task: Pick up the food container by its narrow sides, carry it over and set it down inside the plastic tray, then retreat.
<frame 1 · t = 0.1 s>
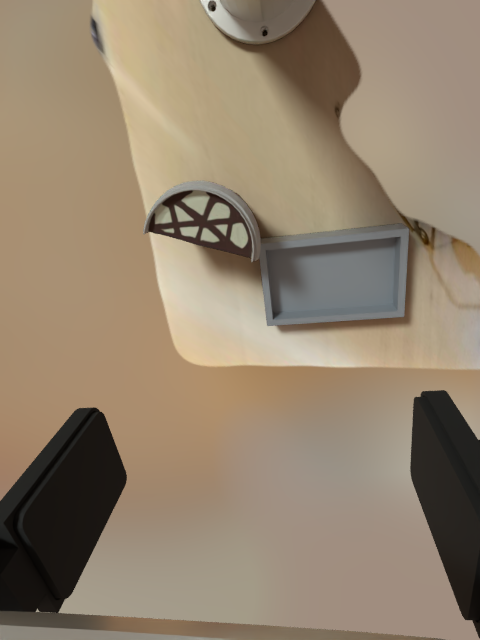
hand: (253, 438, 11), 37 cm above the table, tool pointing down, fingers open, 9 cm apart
tray: (329, 273, 46), on the table
food container: (221, 203, 44), on the table
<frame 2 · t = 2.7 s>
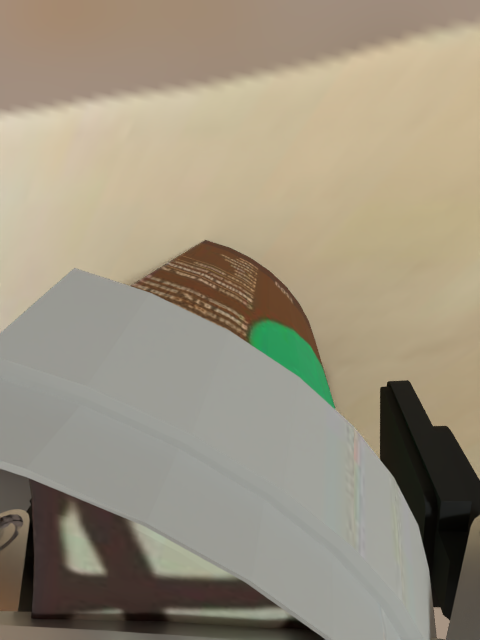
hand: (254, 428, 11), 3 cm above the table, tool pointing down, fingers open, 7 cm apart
tray: (115, 574, 21), on the table
food container: (263, 375, 14), on the table, touching gripper
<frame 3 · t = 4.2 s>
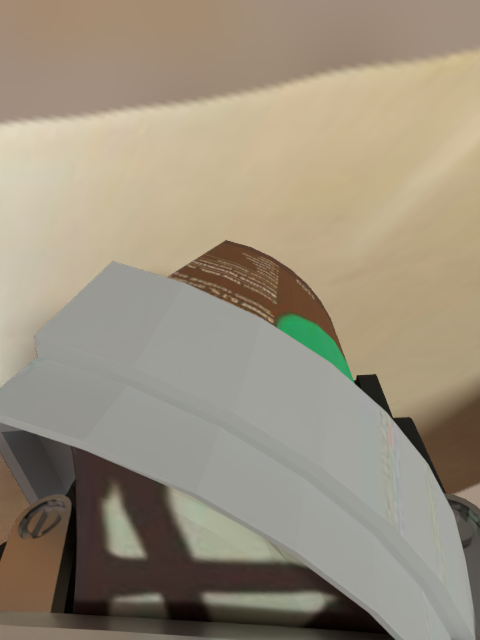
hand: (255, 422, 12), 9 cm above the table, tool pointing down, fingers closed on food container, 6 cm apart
tray: (129, 478, 26), on the table
food container: (285, 374, 14), point 6 cm above the table, touching gripper
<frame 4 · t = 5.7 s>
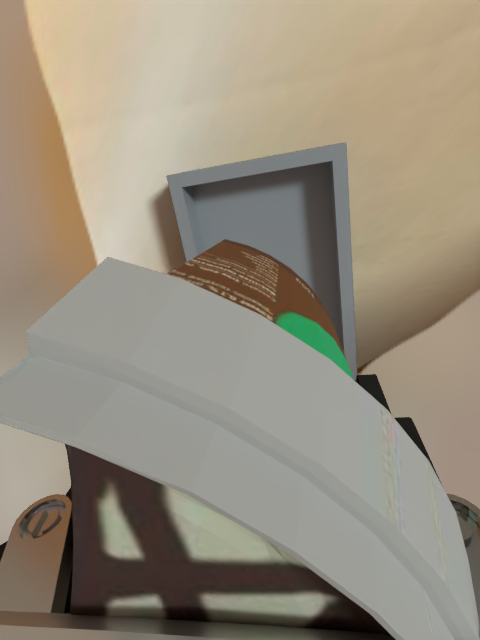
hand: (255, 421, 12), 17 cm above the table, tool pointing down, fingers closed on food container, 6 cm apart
tray: (273, 278, 27), on the table
food container: (285, 373, 14), point 14 cm above the table, touching gripper
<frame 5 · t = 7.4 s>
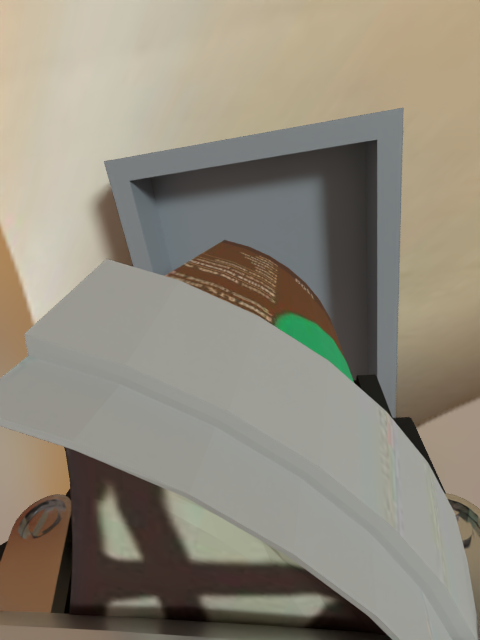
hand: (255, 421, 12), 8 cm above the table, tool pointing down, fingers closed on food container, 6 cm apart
tray: (273, 316, 19), on the table
food container: (285, 374, 14), point 5 cm above the table, touching gripper
when the fingers open (4 cm above the table, at t = 8.6 s): food container moves 1 cm, resting on tray.
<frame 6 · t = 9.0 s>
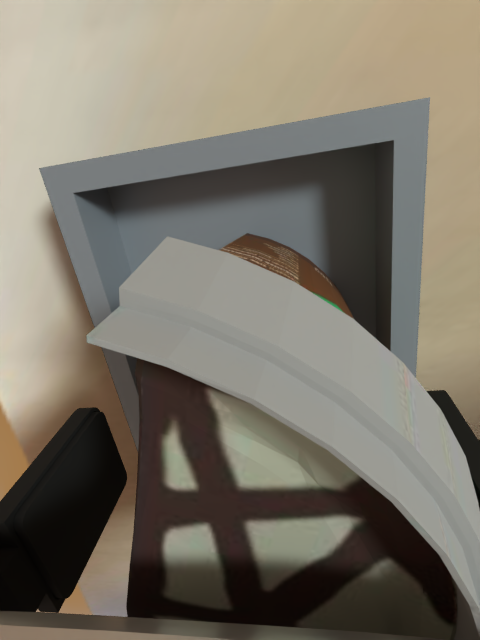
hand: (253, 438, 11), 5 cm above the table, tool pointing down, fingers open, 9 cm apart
tray: (262, 351, 16), on the table
food container: (305, 360, 15), point 1 cm above the table, touching gripper, tray
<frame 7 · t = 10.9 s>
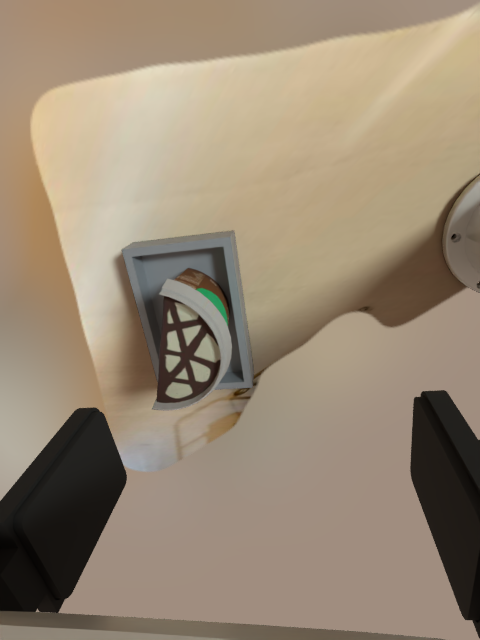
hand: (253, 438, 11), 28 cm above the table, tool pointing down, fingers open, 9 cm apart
tray: (197, 311, 40), on the table
food container: (212, 313, 39), point 1 cm above the table, touching tray
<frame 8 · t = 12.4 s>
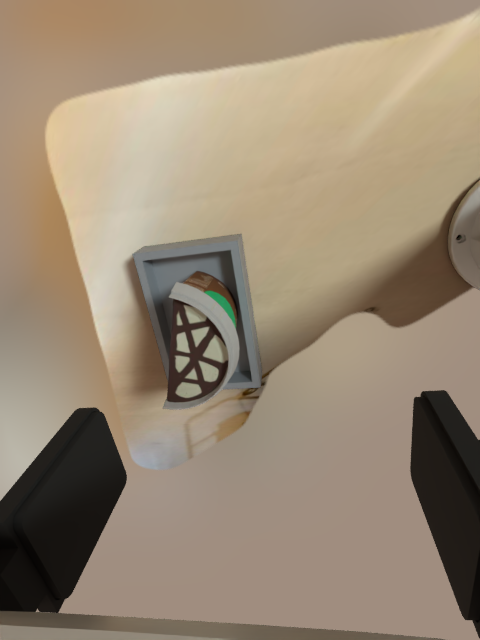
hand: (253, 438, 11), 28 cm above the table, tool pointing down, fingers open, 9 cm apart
tray: (206, 313, 41), on the table
food container: (220, 314, 40), point 1 cm above the table, touching tray
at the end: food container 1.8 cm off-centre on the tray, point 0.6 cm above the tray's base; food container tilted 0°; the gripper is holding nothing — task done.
